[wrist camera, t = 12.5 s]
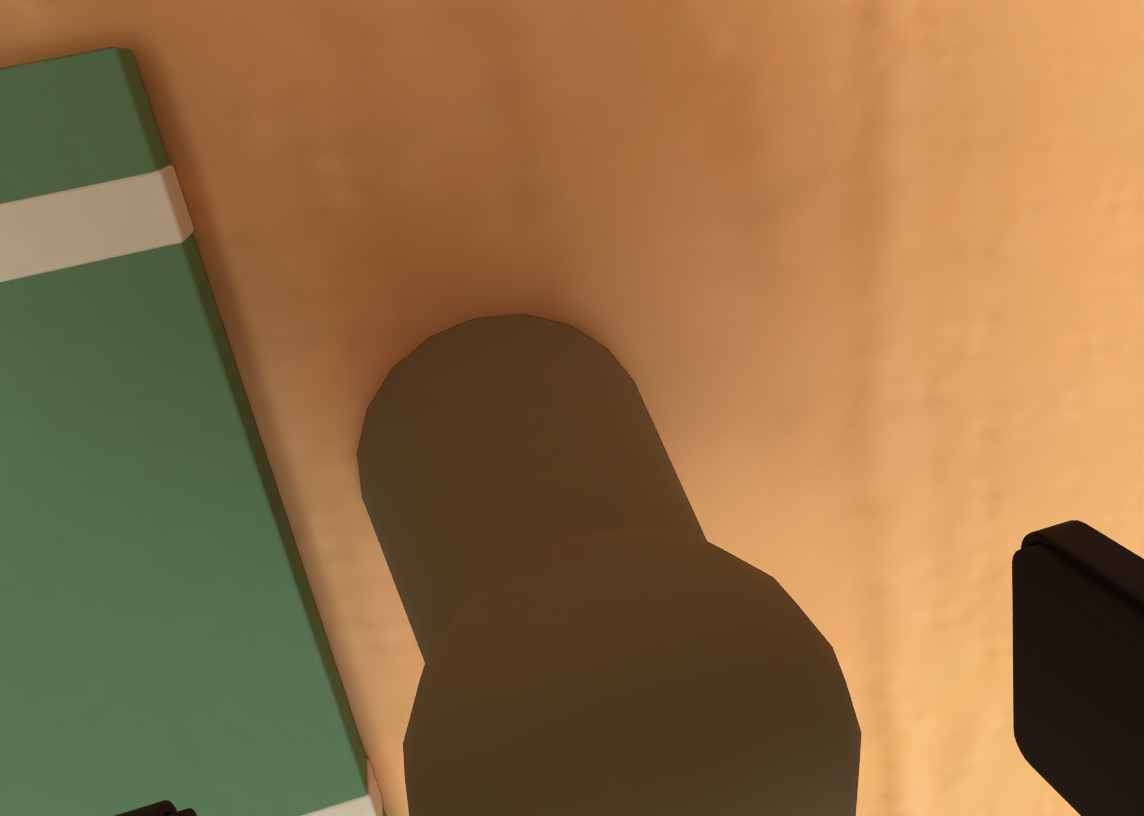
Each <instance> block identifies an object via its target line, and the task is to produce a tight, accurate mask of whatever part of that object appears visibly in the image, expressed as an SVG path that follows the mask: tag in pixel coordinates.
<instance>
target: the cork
mask: <svg viewBox="0 0 1144 816" xmlns="http://www.w3.org/2000/svg"><path fill="white" fill-rule="evenodd" d="M357 457H358V466H359V474H360V482H361V491H362V498H363V501H364V503H365V506H366V509H367V511H368V514H369V516H370V519H371V522H372V524H373V527H374V530H375V532H376V535H377V538H378V540H379V543H380V545H381V548H382V551H383V553H384V556H385V559H386V561H387V564H388V566H389V569H390V572H391V574H392V577H393V580H394V582H395V585H396V588H397V590H398V593H399V595H400V598H401V601H402V603H403V606H404V609H405V611H406V614H407V616H408V619H409V622H410V624H411V627H412V630H413V632H414V635H415V638H416V640H417V643H418V645H419V648H420V651H421V653H422V656H423V659H424V661H425V666H424V669H423V672H422V675H421V679H420V682H419V685H418V689H417V693H416V697H415V701H414V704H413V708H412V712H411V716H410V719H409V723H408V727H407V731H406V735H405V738H404V742H403V751H404V769H405V783H406V791H407V800H408V808H409V816H855V815H856V802H857V789H858V776H859V762H860V747H861V730H860V727H859V724H858V720H857V717H856V714H855V711H854V707H853V704H852V701H851V697H850V694H849V691H848V688H847V684H846V681H845V678H844V676H843V673H842V671H841V668H840V665H839V663H838V660H837V658H836V655H835V652H834V650H833V647H832V646H831V645H830V643H829V642H828V641H827V640H826V639H825V637H824V636H823V635H822V634H821V632H820V631H819V630H818V629H817V628H816V626H815V625H814V624H813V623H812V622H811V620H810V619H809V618H808V617H807V616H806V614H805V613H804V612H803V611H802V610H801V608H800V607H799V606H798V605H797V603H796V602H795V601H794V600H793V599H792V598H791V597H790V596H789V594H788V593H787V592H786V591H785V590H784V589H783V588H782V587H781V585H780V584H779V583H778V582H777V581H776V580H775V579H774V578H773V577H772V576H770V575H768V574H766V573H765V572H763V571H761V570H759V569H757V568H756V567H754V566H752V565H750V564H748V563H746V562H745V561H743V560H741V559H739V558H737V557H736V556H734V555H732V554H730V553H728V552H727V551H725V550H723V549H721V548H719V547H717V546H715V545H713V544H711V543H709V542H707V540H706V538H705V536H704V533H703V531H702V529H701V527H700V525H699V522H698V520H697V518H696V516H695V514H694V512H693V509H692V507H691V505H690V503H689V501H688V498H687V496H686V494H685V492H684V490H683V487H682V485H681V483H680V481H679V479H678V476H677V474H676V472H675V470H674V468H673V465H672V463H671V461H670V459H669V457H668V454H667V452H666V450H665V448H664V446H663V443H662V441H661V439H660V437H659V435H658V432H657V430H656V428H655V426H654V424H653V421H652V419H651V417H650V415H649V413H648V410H647V408H646V406H645V404H644V402H643V399H642V397H641V395H640V393H639V391H638V388H637V386H636V384H635V382H634V380H633V379H632V378H631V377H630V376H629V374H628V373H627V372H626V371H625V369H624V368H623V367H622V366H621V365H620V363H619V362H618V361H617V360H616V358H615V357H614V356H613V355H612V354H611V352H610V351H609V350H608V349H607V348H606V347H604V346H603V345H601V344H600V343H598V342H596V341H595V340H593V339H591V338H590V337H588V336H587V335H585V334H583V333H582V332H580V331H578V330H577V329H575V328H573V327H572V326H570V325H568V324H564V323H559V322H555V321H550V320H546V319H542V318H537V317H533V316H528V315H524V314H521V315H510V316H499V317H487V318H476V319H473V320H470V321H468V322H466V323H463V324H461V325H458V326H456V327H454V328H451V329H449V330H446V331H444V332H442V333H439V334H437V335H434V336H432V337H430V338H428V339H427V340H426V341H425V342H424V343H423V344H421V345H420V346H419V347H418V348H417V349H415V350H414V351H413V352H412V353H411V354H409V355H408V356H407V357H406V358H405V359H404V360H402V361H401V362H400V363H399V364H398V365H396V366H395V367H394V368H393V369H392V370H391V372H390V373H389V375H388V377H387V378H386V380H385V382H384V383H383V385H382V386H381V388H380V390H379V391H378V393H377V394H376V396H375V398H374V399H373V401H372V403H371V404H370V406H369V407H368V409H367V413H366V417H365V421H364V426H363V430H362V435H361V439H360V443H359V448H358V452H357Z"/></svg>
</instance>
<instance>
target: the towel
mask: <svg viewBox="0 0 1144 816" xmlns="http://www.w3.org/2000/svg"><path fill="white" fill-rule="evenodd" d="M193 232H194V227H193V224H192V221H191V218H190V215H189V212H188V209H187V206H186V203H185V200H184V197H183V194H182V191H181V188H180V185H179V182H178V179H177V176H176V172H175V169H174V167H173V166H172V165H170V164H169V161H168V158H167V155H166V152H165V149H164V146H163V143H162V140H161V137H160V134H159V131H158V128H157V125H156V122H155V119H154V116H153V113H152V110H151V107H150V104H149V101H148V98H147V94H146V91H145V88H144V85H143V82H142V79H141V76H140V73H139V70H138V67H137V64H136V61H135V58H134V55H133V52H132V51H131V50H129V49H122V48H114V47H111V48H106V49H100V50H95V51H90V52H85V53H79V54H74V55H69V56H64V57H58V58H53V59H48V60H43V61H37V62H32V63H27V64H21V65H16V66H11V67H6V68H0V816H115V815H118V814H121V813H124V812H127V811H131V810H134V809H137V808H140V807H144V806H147V805H150V804H153V803H157V802H160V801H163V800H169V801H170V802H171V803H172V804H174V806H175V808H176V809H177V811H181V810H184V809H187V808H192V809H193V810H194V811H195V812H196V814H197V816H386V815H385V812H384V809H383V806H382V796H381V793H380V790H379V787H378V784H377V781H376V778H375V775H374V772H373V769H372V766H371V763H370V761H369V760H368V759H367V758H366V755H365V752H364V749H363V746H362V743H361V740H360V737H359V734H358V731H357V728H356V725H355V722H354V719H353V716H352V713H351V710H350V707H349V704H348V701H347V698H346V695H345V692H344V689H343V686H342V683H341V680H340V677H339V674H338V671H337V668H336V665H335V662H334V659H333V656H332V653H331V650H330V647H329V644H328V640H327V637H326V634H325V631H324V628H323V625H322V622H321V619H320V616H319V613H318V610H317V607H316V604H315V601H314V598H313V595H312V592H311V589H310V586H309V583H308V580H307V577H306V574H305V571H304V568H303V565H302V562H301V559H300V556H299V553H298V550H297V547H296V544H295V541H294V538H293V535H292V532H291V529H290V526H289V523H288V520H287V517H286V514H285V511H284V508H283V505H282V502H281V499H280V496H279V493H278V490H277V487H276V484H275V481H274V478H273V475H272V472H271V469H270V466H269V463H268V460H267V456H266V453H265V450H264V447H263V444H262V441H261V438H260V435H259V432H258V429H257V426H256V423H255V420H254V417H253V414H252V411H251V408H250V405H249V402H248V399H247V396H246V393H245V390H244V387H243V384H242V381H241V378H240V375H239V372H238V369H237V366H236V363H235V360H234V357H233V354H232V351H231V348H230V345H229V342H228V339H227V336H226V333H225V330H224V327H223V324H222V321H221V318H220V315H219V312H218V309H217V306H216V303H215V300H214V297H213V294H212V291H211V288H210V285H209V282H208V279H207V275H206V272H205V269H204V266H203V263H202V260H201V257H200V254H199V251H198V248H197V245H196V242H195V239H194V236H193Z"/></svg>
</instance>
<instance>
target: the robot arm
mask: <svg viewBox="0 0 1144 816" xmlns="http://www.w3.org/2000/svg"><path fill="white" fill-rule="evenodd" d="M1012 591H1013V712H1014V736H1015V739H1016V742H1017V745H1018V747H1019V749H1020V751H1021V753H1022V755H1023V756H1024V758H1025V759H1026V760H1027V762H1028V763H1029V764H1030V765H1031V766H1032V767H1033V768H1034V769H1035V770H1036V771H1037V772H1038V773H1039V774H1040V775H1041V776H1042V777H1043V778H1044V779H1045V780H1046V781H1047V782H1048V783H1049V784H1050V785H1051V786H1052V787H1053V788H1054V789H1055V790H1056V791H1057V792H1058V793H1059V794H1060V795H1061V796H1062V797H1063V798H1064V799H1065V800H1066V801H1067V802H1068V803H1069V804H1070V805H1071V806H1072V807H1073V808H1074V809H1075V810H1076V811H1077V812H1078V813H1079V814H1080V815H1081V816H1144V559H1143V558H1141V557H1139V556H1138V555H1136V554H1134V553H1133V552H1131V551H1130V550H1128V549H1126V548H1125V547H1123V546H1121V545H1120V544H1118V543H1116V542H1115V541H1113V540H1112V539H1110V538H1108V537H1107V536H1105V535H1103V534H1102V533H1100V532H1099V531H1097V530H1095V529H1094V528H1092V527H1090V526H1089V525H1087V524H1085V523H1083V522H1080V521H1078V520H1070V521H1067V522H1064V523H1061V524H1057V525H1054V526H1051V527H1048V528H1044V529H1041V530H1038V531H1035V532H1032V533H1029V534H1028V535H1026V536H1025V537H1024V539H1023V541H1022V545H1021V549H1020V550H1018V551H1016V552H1015V554H1014V556H1013V561H1012ZM115 816H197V814H196V812H195V811H194V810H193V809H192V808H187V809H184V810H181V811H177V809H176V808H175V806H174V804H172V803H171V802H170V801H169V800H163V801H160V802H157V803H153V804H150V805H147V806H144V807H140V808H137V809H134V810H131V811H127V812H124V813H121V814H118V815H115Z"/></svg>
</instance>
